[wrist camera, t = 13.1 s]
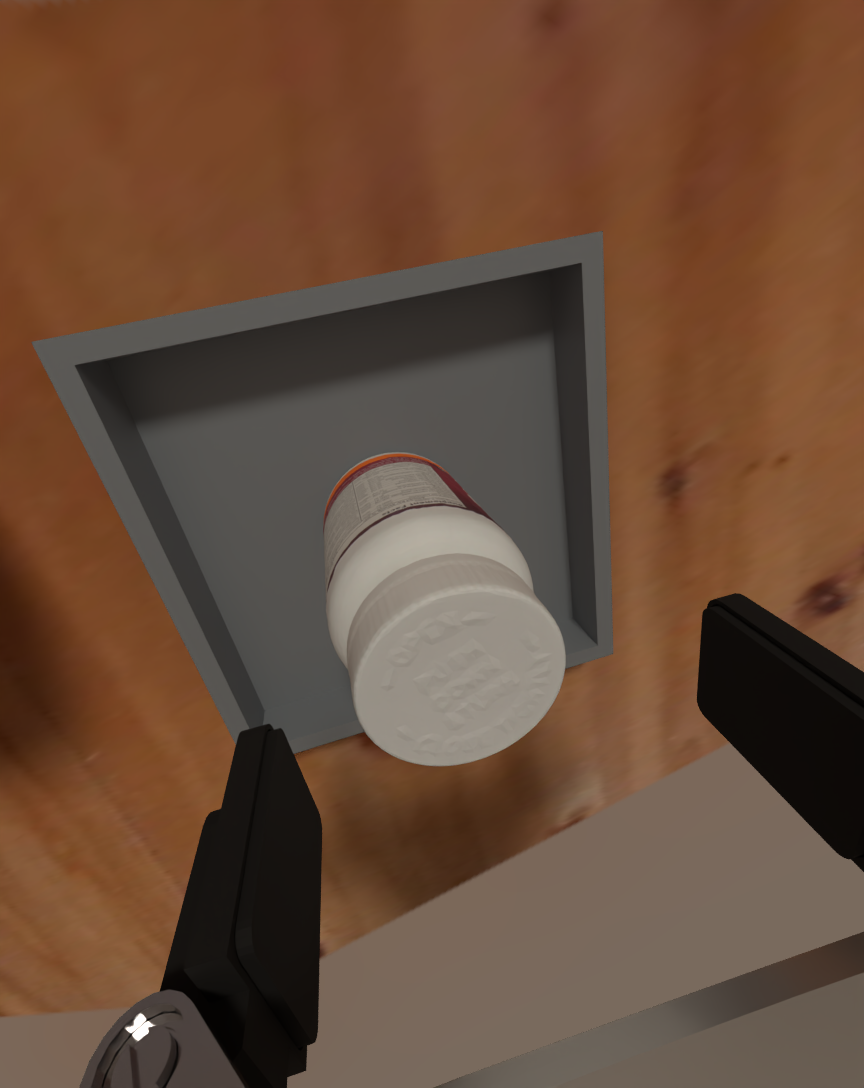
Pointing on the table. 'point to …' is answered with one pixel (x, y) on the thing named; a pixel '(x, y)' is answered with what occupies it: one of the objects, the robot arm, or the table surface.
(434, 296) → the tray
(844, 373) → the table surface
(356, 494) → the pill bottle
